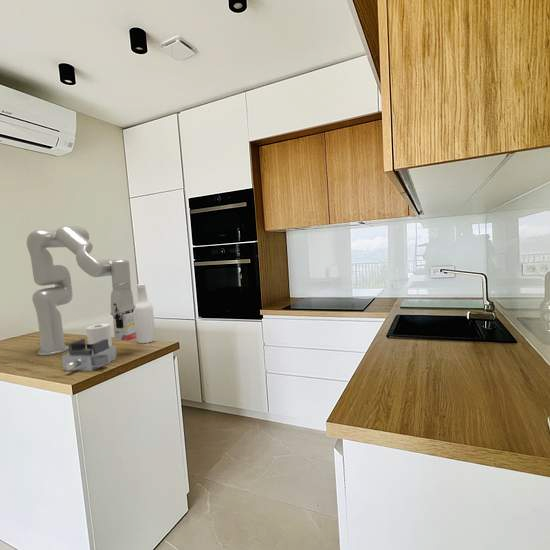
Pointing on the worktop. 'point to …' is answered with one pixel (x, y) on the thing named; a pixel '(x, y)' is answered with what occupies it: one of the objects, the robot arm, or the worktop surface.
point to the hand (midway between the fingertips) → (124, 325)
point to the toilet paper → (99, 333)
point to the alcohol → (144, 317)
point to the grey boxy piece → (88, 355)
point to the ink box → (125, 328)
